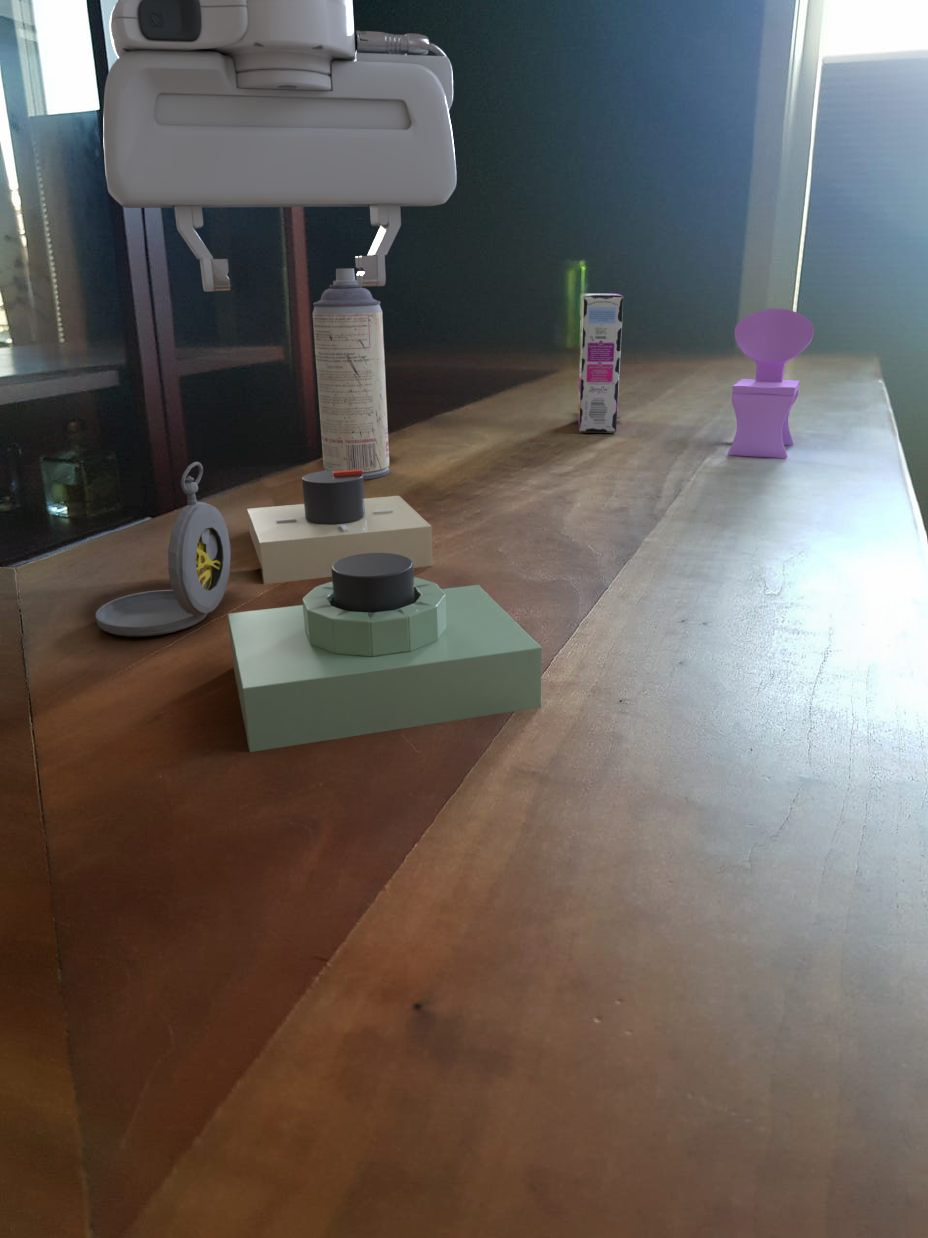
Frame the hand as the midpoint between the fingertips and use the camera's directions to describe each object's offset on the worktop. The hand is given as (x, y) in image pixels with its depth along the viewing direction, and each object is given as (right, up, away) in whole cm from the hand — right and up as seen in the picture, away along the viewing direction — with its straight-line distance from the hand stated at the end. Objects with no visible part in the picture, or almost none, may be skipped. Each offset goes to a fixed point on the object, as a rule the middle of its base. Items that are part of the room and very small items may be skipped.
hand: (296, 288), depth 58 cm
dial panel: (+1, -15, +13) cm, 20 cm away
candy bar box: (+28, +5, +66) cm, 71 cm away
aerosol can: (-1, -5, +41) cm, 41 cm away
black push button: (+6, -19, -11) cm, 23 cm away
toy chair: (+44, -1, +48) cm, 65 cm away
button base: (+6, -24, -9) cm, 26 cm away
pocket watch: (-8, -21, 0) cm, 22 cm away
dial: (+1, -13, +12) cm, 17 cm away
